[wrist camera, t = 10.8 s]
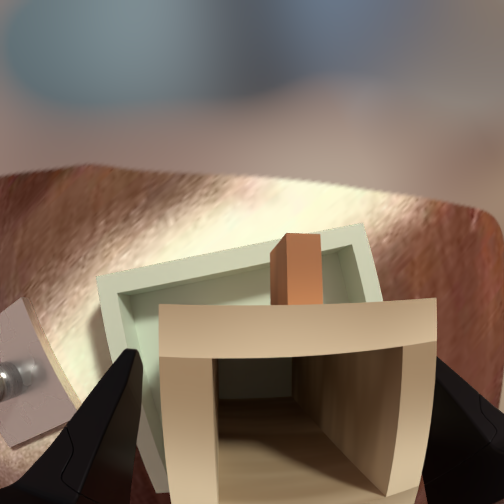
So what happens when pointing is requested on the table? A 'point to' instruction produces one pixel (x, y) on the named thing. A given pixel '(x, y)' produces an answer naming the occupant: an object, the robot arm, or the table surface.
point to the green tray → (220, 293)
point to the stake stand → (30, 378)
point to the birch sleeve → (299, 394)
